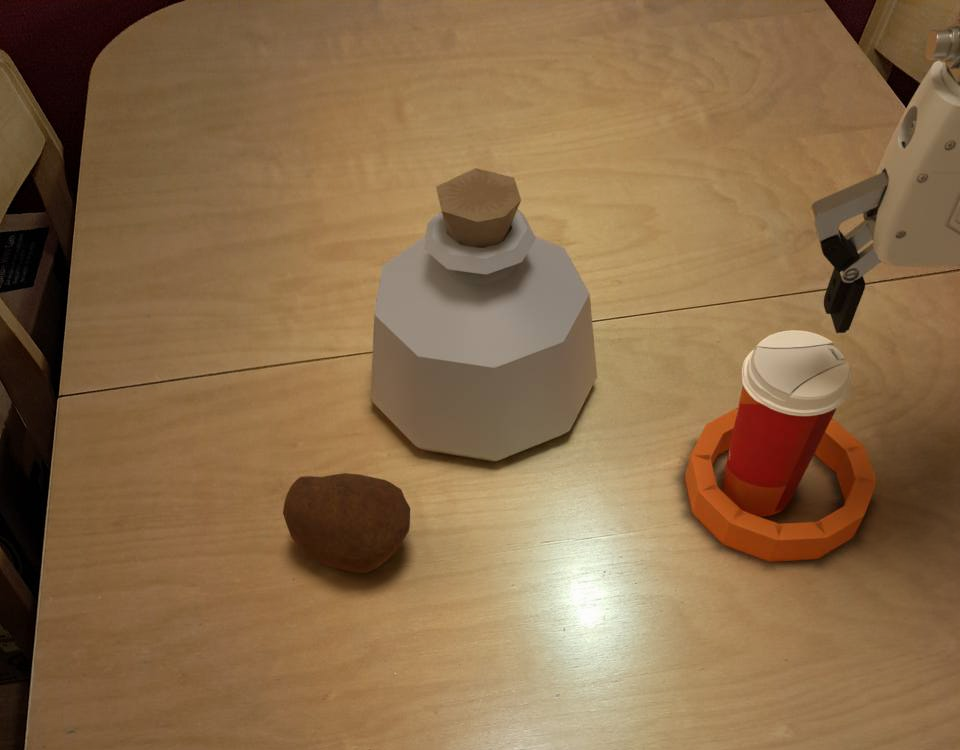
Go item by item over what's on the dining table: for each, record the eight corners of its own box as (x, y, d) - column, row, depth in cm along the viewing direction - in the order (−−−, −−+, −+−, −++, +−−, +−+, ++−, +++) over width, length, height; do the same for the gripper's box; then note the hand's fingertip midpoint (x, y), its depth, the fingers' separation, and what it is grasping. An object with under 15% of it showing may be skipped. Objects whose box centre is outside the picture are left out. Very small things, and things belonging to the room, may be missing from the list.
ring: (838, 424, 84) (848, 399, 81) (882, 557, 77) (895, 534, 74) (674, 433, 84) (680, 408, 81) (702, 567, 76) (709, 544, 74)
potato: (299, 513, 80) (281, 447, 73) (418, 517, 80) (411, 451, 73) (286, 587, 76) (265, 525, 69) (410, 591, 76) (402, 529, 69)
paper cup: (776, 447, 83) (823, 314, 71) (820, 514, 79) (877, 386, 67) (692, 470, 82) (725, 339, 70) (732, 539, 78) (775, 414, 66)
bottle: (596, 474, 81) (620, 288, 65) (363, 468, 82) (330, 282, 66) (594, 313, 92) (615, 118, 76) (387, 308, 93) (364, 114, 77)
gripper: (877, 97, 49) (790, 360, 63) (1224, 87, 48) (1056, 352, 63) (844, 19, 52) (769, 283, 67) (1166, 9, 52) (1020, 276, 67)
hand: (908, 316), depth 65 cm, fingers open, 9 cm apart
